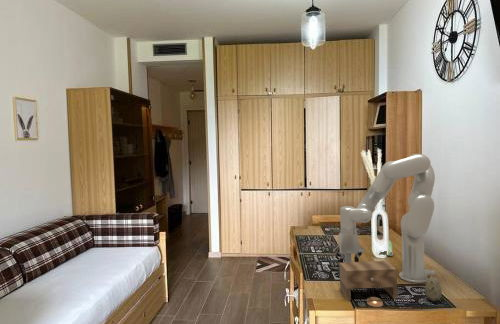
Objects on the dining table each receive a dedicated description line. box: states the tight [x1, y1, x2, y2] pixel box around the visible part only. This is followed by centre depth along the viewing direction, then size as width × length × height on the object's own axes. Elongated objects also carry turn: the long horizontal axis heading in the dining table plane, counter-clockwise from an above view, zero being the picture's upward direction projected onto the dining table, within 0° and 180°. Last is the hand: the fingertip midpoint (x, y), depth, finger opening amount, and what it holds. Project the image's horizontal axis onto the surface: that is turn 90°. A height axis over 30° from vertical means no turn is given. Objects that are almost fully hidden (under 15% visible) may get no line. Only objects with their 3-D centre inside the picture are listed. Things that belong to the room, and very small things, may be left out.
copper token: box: [366, 296, 384, 308], centre depth 129 cm, size 6×6×2 cm
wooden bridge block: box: [339, 260, 398, 301], centre depth 137 cm, size 21×11×12 cm, turn 91°
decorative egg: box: [424, 276, 443, 302], centre depth 130 cm, size 6×6×10 cm
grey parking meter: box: [343, 253, 352, 263], centre depth 155 cm, size 7×19×12 cm, turn 1°
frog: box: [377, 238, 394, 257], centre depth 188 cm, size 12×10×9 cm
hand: (349, 264), depth 162 cm, fingers open, 6 cm apart
